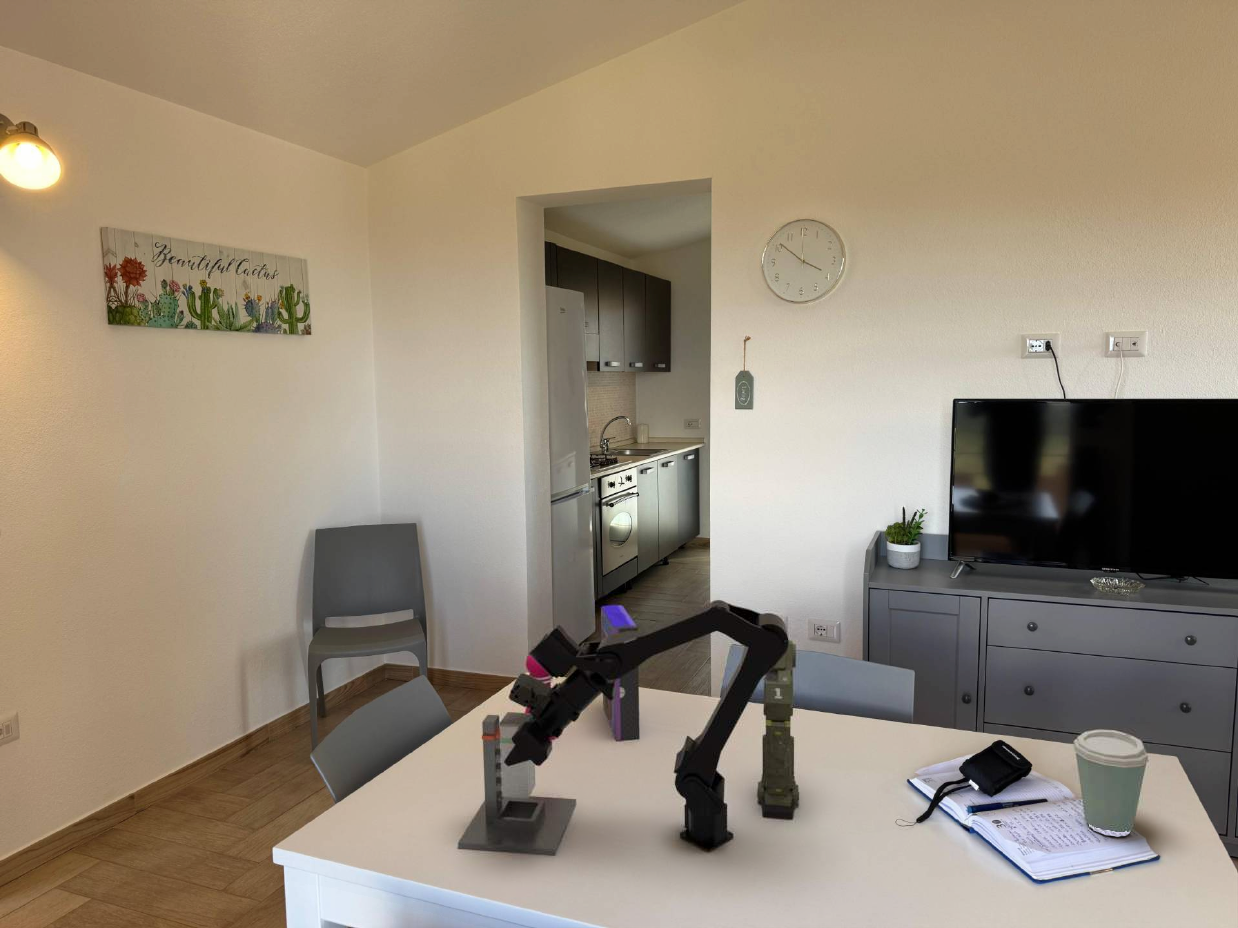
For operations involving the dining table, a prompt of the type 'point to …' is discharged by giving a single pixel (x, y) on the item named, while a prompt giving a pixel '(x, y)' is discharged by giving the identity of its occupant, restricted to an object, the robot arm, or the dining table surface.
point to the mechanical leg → (779, 742)
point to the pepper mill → (538, 676)
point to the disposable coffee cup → (1110, 777)
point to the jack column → (520, 775)
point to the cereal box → (622, 680)
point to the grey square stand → (513, 810)
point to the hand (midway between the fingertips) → (510, 757)
